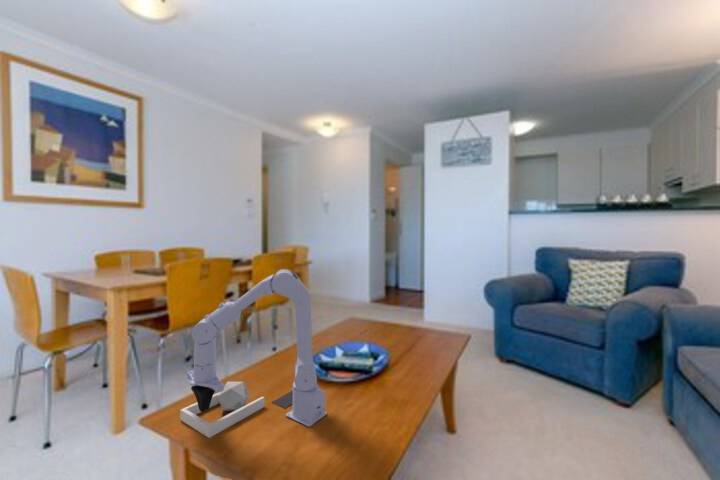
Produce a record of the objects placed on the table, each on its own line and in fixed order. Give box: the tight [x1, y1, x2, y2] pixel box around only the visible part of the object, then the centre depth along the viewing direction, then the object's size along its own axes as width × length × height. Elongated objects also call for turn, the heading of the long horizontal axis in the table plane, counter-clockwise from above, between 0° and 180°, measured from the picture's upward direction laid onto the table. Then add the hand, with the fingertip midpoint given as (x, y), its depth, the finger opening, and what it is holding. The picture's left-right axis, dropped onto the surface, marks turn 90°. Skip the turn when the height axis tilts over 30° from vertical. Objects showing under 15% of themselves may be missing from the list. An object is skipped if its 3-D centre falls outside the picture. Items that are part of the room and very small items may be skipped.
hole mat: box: [271, 389, 293, 409], centre depth 106 cm, size 6×10×1 cm, turn 147°
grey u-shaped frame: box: [179, 392, 266, 439], centre depth 97 cm, size 14×18×3 cm
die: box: [217, 381, 250, 412], centre depth 100 cm, size 8×9×10 cm
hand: (204, 409), depth 92 cm, fingers closed
